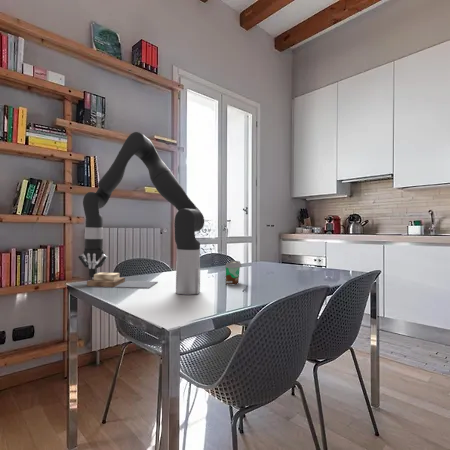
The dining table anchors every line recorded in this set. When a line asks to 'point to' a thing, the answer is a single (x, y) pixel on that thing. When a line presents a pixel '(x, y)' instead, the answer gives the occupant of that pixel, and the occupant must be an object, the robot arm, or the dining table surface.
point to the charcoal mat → (136, 284)
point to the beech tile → (106, 276)
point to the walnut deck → (105, 282)
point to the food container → (232, 272)
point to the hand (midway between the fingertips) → (92, 277)
